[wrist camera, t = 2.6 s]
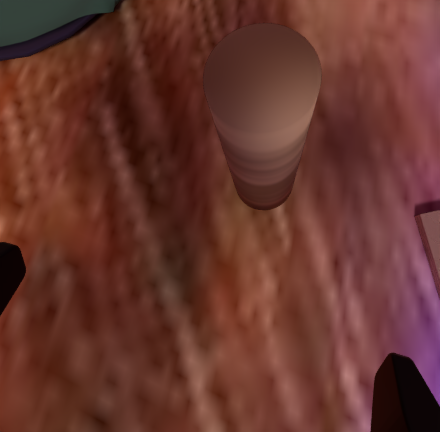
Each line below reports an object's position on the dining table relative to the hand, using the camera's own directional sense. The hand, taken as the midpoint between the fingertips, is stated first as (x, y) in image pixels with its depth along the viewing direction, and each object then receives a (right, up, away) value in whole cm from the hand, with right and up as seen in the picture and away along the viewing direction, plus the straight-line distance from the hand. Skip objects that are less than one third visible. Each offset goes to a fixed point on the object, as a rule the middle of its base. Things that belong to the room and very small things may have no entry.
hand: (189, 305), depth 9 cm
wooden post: (+3, +4, +15) cm, 16 cm away
